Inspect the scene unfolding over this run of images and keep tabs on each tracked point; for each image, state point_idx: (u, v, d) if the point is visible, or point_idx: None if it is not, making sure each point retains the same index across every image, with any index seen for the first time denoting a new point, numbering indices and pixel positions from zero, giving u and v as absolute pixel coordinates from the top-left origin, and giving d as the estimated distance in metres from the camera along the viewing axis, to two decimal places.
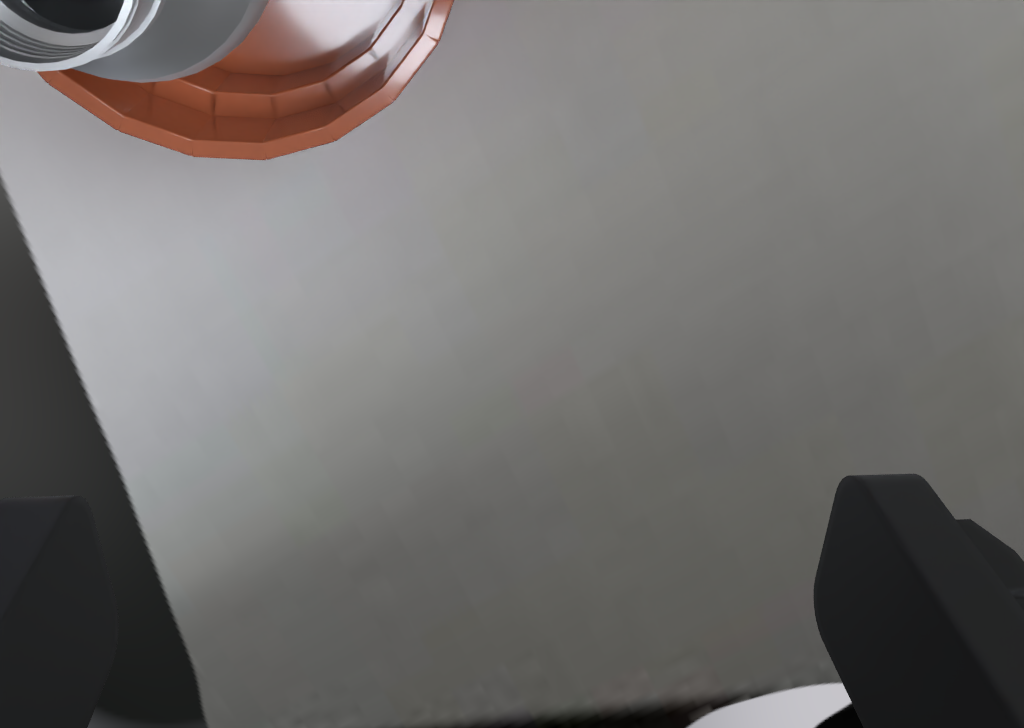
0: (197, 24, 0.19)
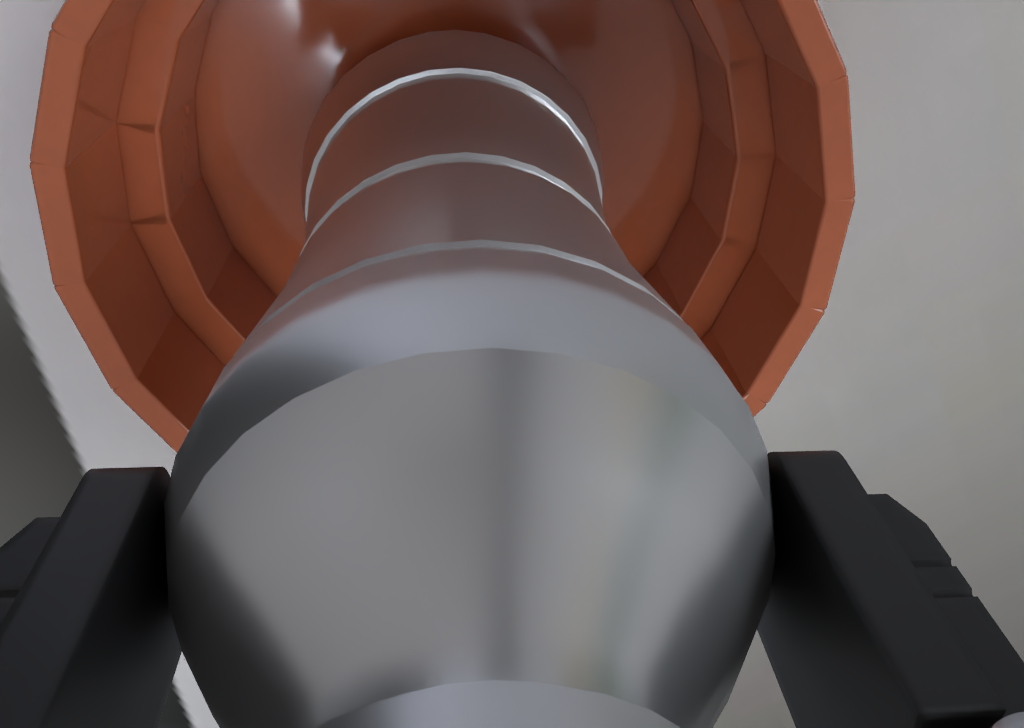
0: None
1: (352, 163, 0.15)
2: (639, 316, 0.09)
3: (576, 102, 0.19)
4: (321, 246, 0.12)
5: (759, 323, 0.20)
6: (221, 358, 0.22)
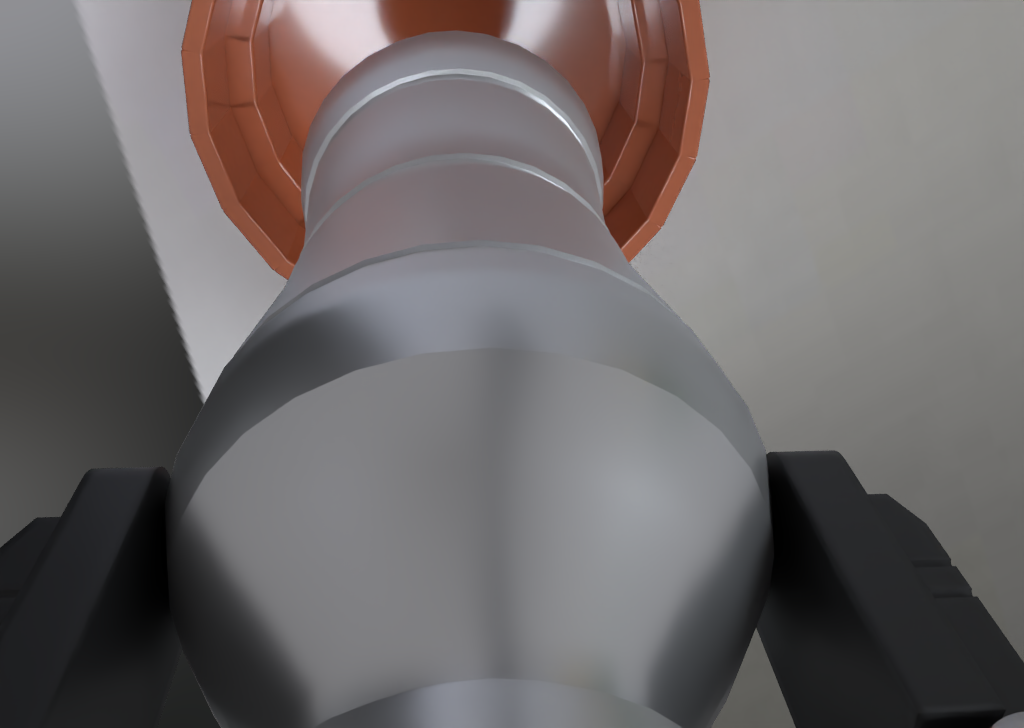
0: None
1: (352, 164, 0.15)
2: (638, 316, 0.09)
3: (575, 103, 0.19)
4: (321, 247, 0.12)
5: (657, 174, 0.29)
6: (287, 207, 0.31)
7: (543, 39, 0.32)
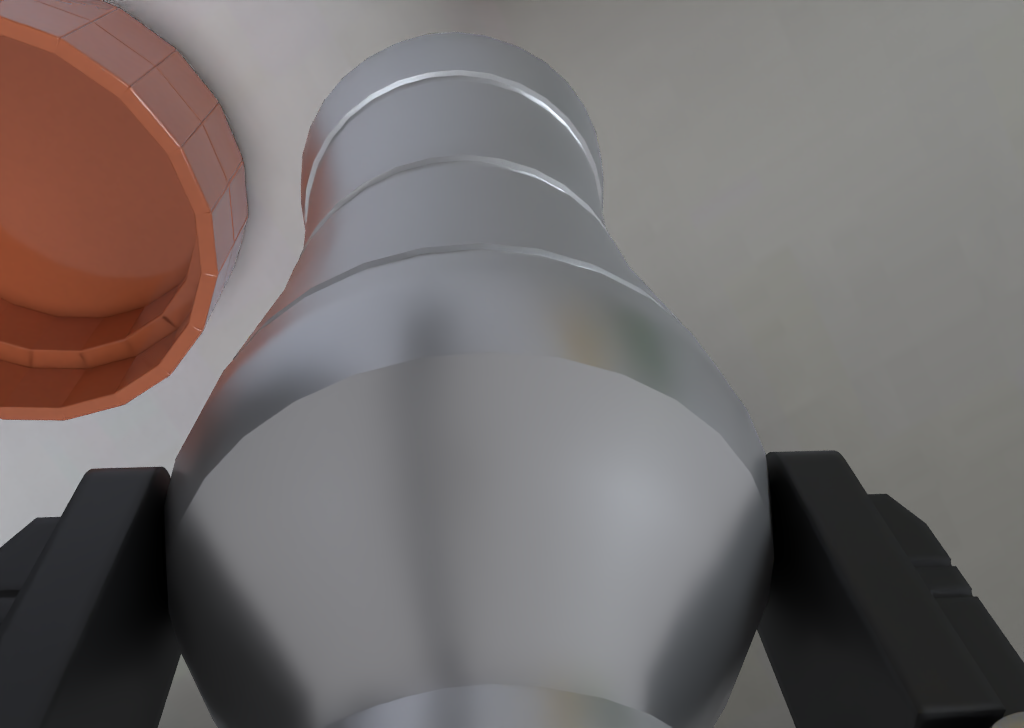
0: None
1: (352, 166, 0.15)
2: (638, 320, 0.09)
3: (575, 104, 0.19)
4: (321, 249, 0.12)
5: None
6: None
7: (134, 160, 0.37)
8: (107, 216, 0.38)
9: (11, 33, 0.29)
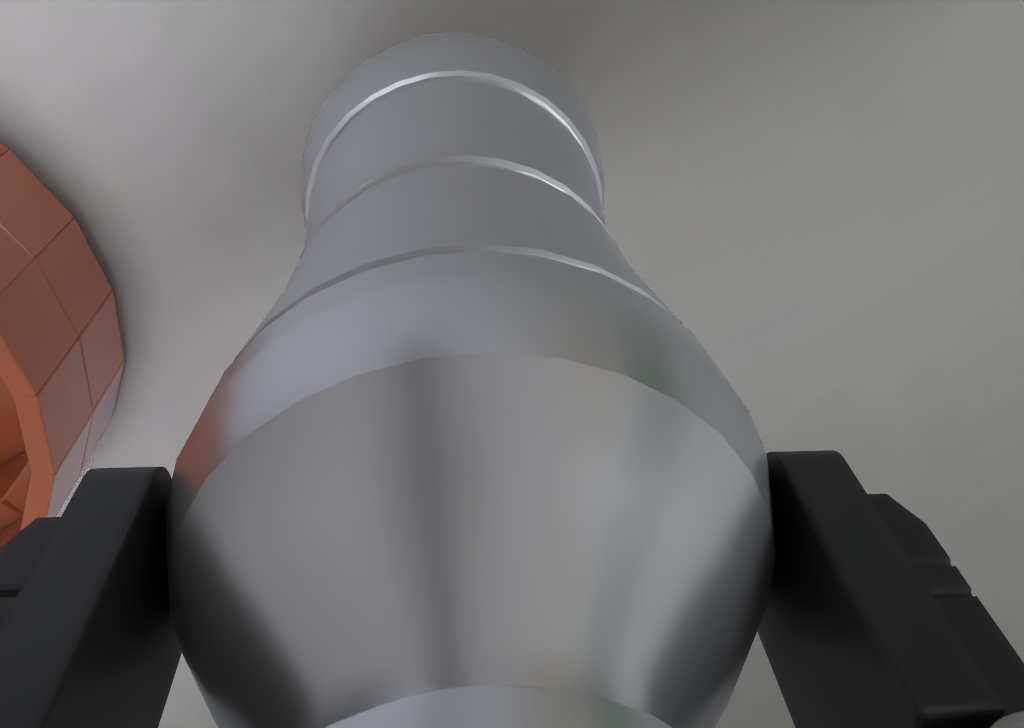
0: None
1: (352, 166, 0.15)
2: (639, 320, 0.09)
3: (576, 104, 0.19)
4: (322, 249, 0.12)
5: None
6: None
7: None
8: None
9: None
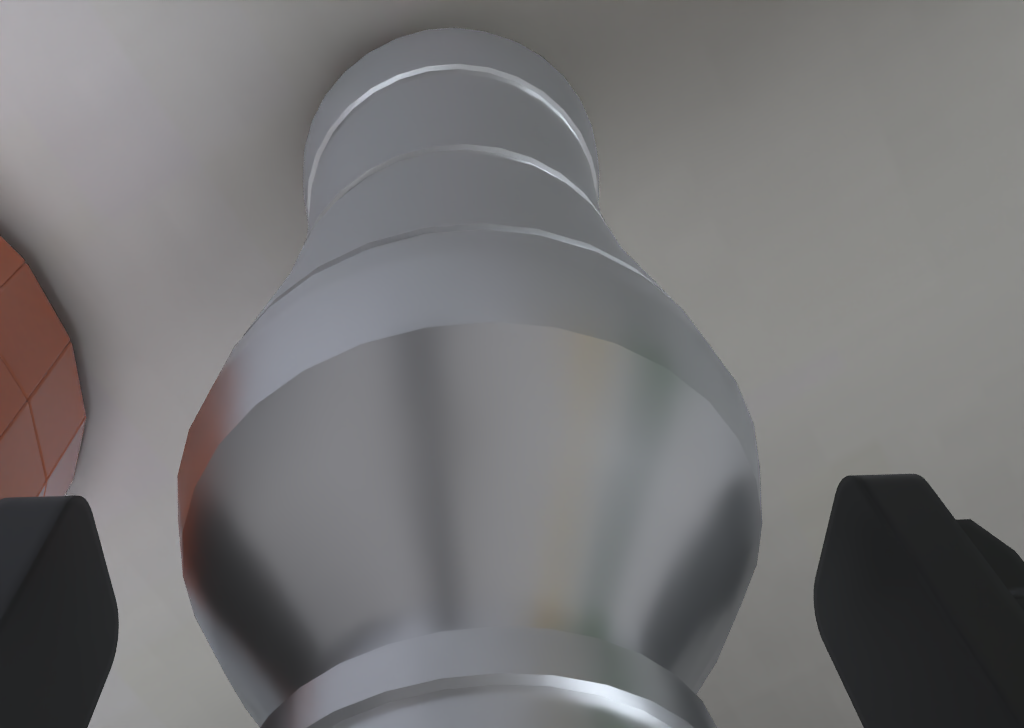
0: None
1: (354, 156, 0.16)
2: (631, 294, 0.09)
3: (572, 98, 0.19)
4: (325, 234, 0.12)
5: None
6: None
7: None
8: None
9: None
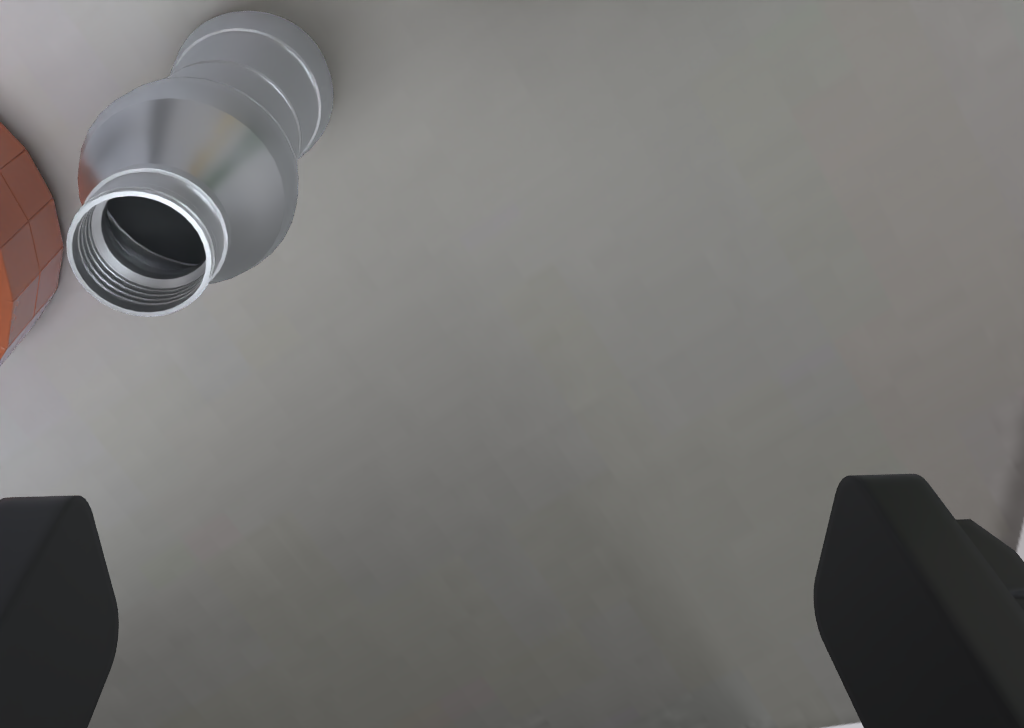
0: (243, 255, 0.28)
1: (176, 70, 0.33)
2: (227, 95, 0.27)
3: (307, 46, 0.37)
4: None
5: None
6: None
7: None
8: None
9: None
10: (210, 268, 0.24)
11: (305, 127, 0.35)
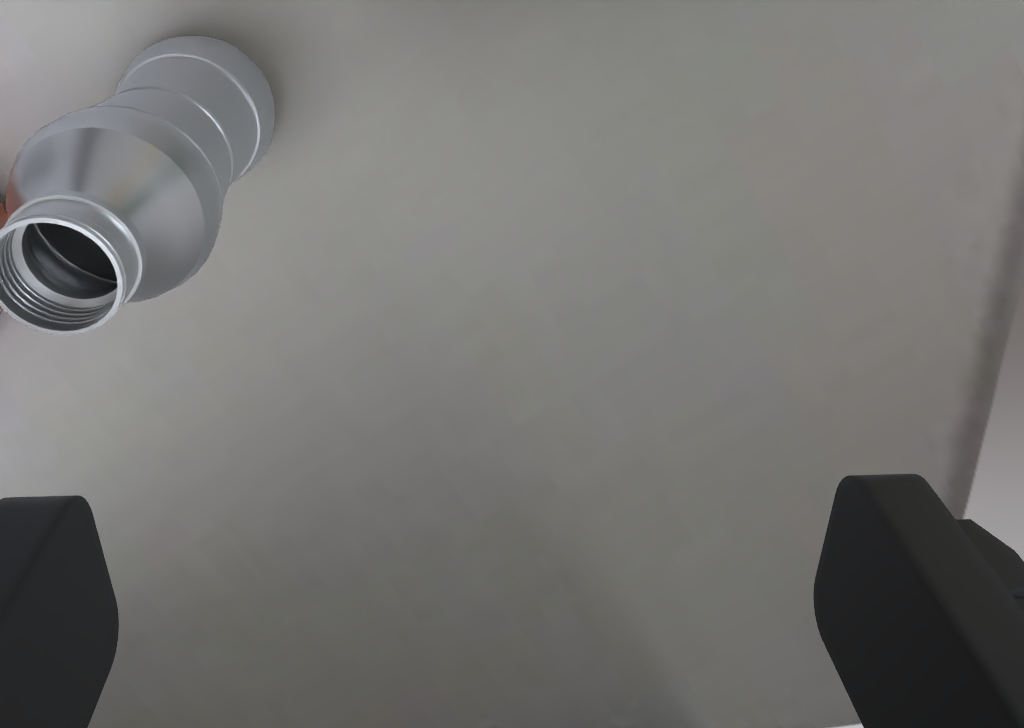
0: (163, 276, 0.29)
1: (114, 94, 0.35)
2: (149, 124, 0.28)
3: (247, 71, 0.39)
4: None
5: None
6: None
7: None
8: None
9: None
10: (121, 291, 0.26)
11: (240, 150, 0.36)
